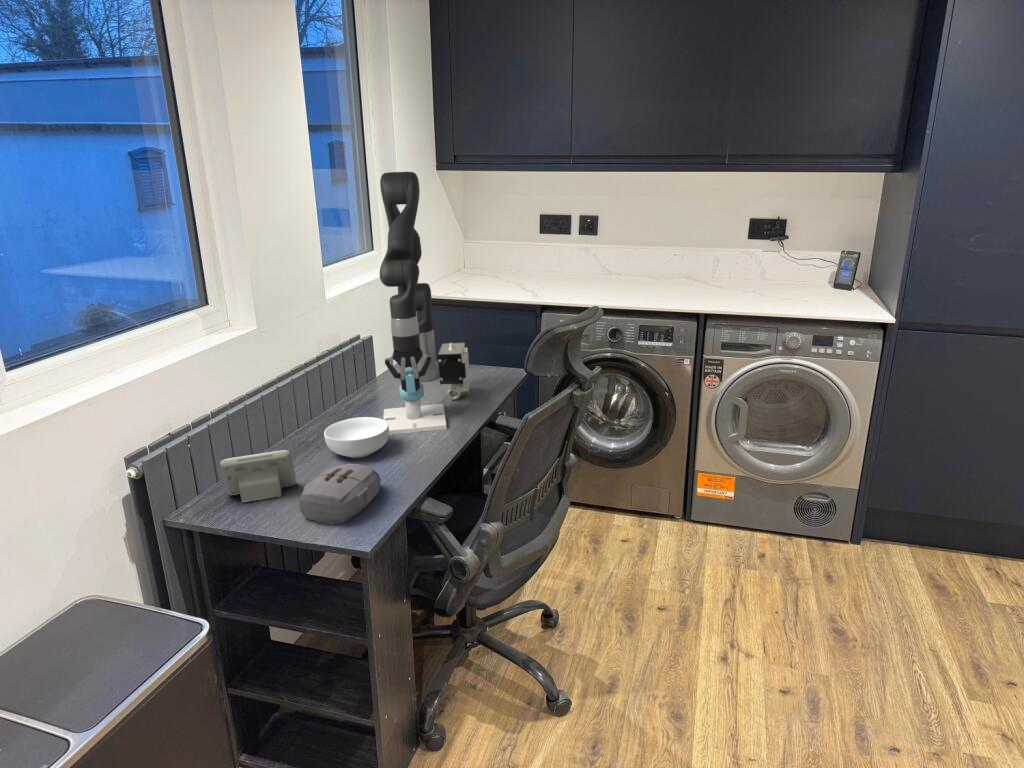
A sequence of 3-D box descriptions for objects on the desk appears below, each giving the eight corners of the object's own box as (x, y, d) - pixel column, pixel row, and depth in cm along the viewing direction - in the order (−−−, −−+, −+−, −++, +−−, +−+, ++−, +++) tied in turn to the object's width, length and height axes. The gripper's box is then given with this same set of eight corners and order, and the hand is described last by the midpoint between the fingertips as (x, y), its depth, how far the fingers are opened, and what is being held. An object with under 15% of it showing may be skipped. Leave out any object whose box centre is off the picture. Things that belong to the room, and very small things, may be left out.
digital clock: (299, 482, 175) (293, 443, 172) (292, 500, 167) (285, 458, 163) (232, 487, 174) (225, 448, 171) (221, 505, 166) (213, 464, 162)
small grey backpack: (351, 529, 153) (394, 487, 171) (346, 494, 150) (391, 455, 168) (291, 520, 158) (339, 480, 176) (285, 486, 155) (335, 449, 173)
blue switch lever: (400, 390, 214) (397, 363, 211) (423, 388, 214) (421, 361, 212) (399, 404, 202) (397, 376, 200) (424, 401, 203) (422, 374, 200)
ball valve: (468, 405, 221) (464, 350, 215) (440, 406, 221) (436, 351, 215) (472, 386, 238) (468, 335, 232) (447, 387, 238) (442, 336, 232)
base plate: (384, 412, 218) (381, 389, 216) (443, 407, 220) (441, 384, 218) (382, 435, 201) (380, 410, 199) (446, 429, 204) (444, 404, 201)
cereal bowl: (401, 441, 197) (398, 417, 194) (374, 467, 181) (371, 442, 179) (345, 437, 201) (342, 414, 199) (315, 462, 186) (311, 437, 184)
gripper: (430, 326, 202) (435, 384, 208) (380, 330, 201) (386, 388, 206) (431, 333, 195) (436, 392, 201) (379, 337, 194) (386, 397, 199)
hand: (411, 390), depth 204 cm, fingers closed on blue switch lever, 2 cm apart
